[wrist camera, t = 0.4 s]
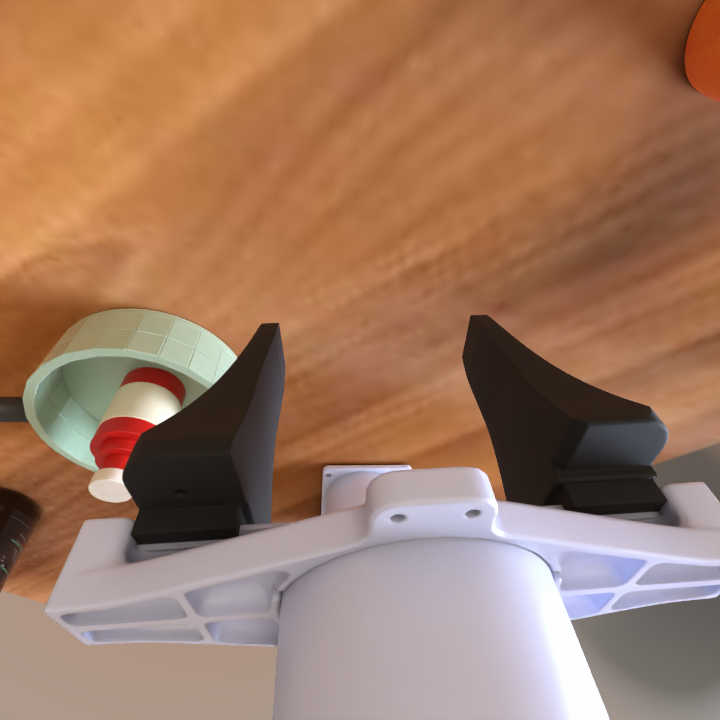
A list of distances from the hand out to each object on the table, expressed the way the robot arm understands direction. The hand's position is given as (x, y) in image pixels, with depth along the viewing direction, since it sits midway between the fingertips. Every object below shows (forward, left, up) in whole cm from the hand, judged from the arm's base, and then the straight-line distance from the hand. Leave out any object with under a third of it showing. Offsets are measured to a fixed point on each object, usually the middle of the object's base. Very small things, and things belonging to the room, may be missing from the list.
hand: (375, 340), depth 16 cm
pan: (-12, +13, -10) cm, 21 cm away
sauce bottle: (-12, +13, -10) cm, 20 cm away
